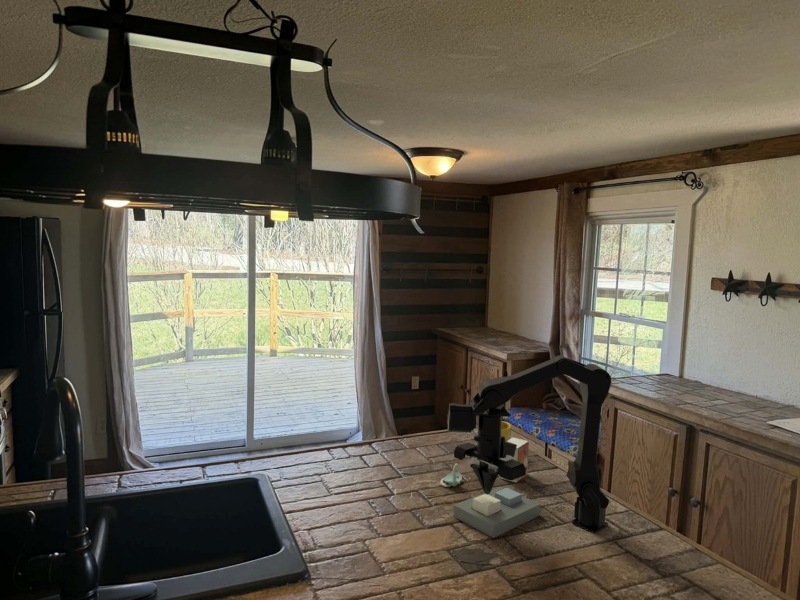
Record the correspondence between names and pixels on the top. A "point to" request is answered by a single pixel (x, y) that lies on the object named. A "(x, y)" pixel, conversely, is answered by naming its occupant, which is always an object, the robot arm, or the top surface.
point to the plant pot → (506, 430)
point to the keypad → (497, 515)
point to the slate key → (508, 497)
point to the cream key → (486, 504)
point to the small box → (518, 454)
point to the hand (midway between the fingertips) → (487, 493)
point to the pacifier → (452, 477)
